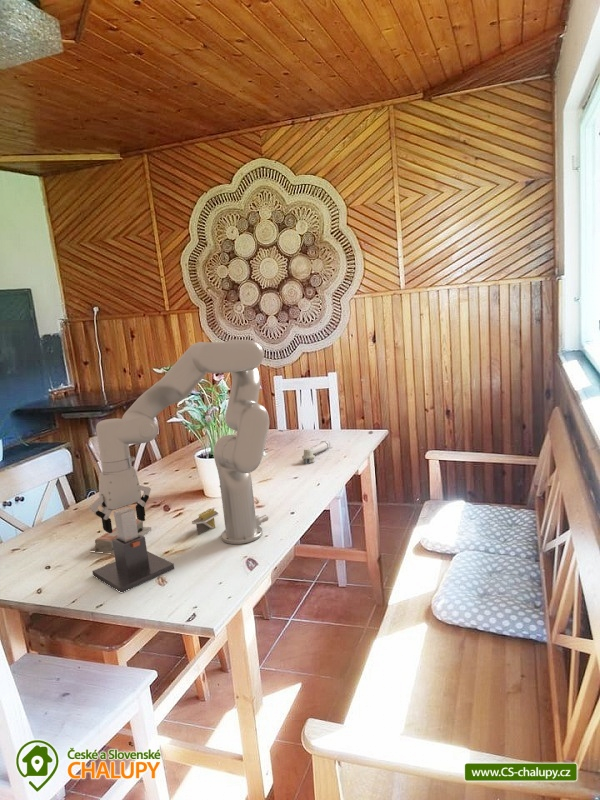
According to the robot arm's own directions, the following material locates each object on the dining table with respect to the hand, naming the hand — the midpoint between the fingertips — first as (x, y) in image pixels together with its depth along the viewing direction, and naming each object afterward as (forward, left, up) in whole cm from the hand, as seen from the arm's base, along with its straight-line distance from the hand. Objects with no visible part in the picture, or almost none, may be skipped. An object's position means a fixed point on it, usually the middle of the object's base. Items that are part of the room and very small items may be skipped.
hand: (125, 525), depth 156 cm
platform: (-30, -6, -14) cm, 34 cm away
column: (0, 0, -12) cm, 12 cm away
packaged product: (-9, -23, -15) cm, 29 cm away
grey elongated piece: (-108, -32, -14) cm, 114 cm away
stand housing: (0, 0, -14) cm, 14 cm away
